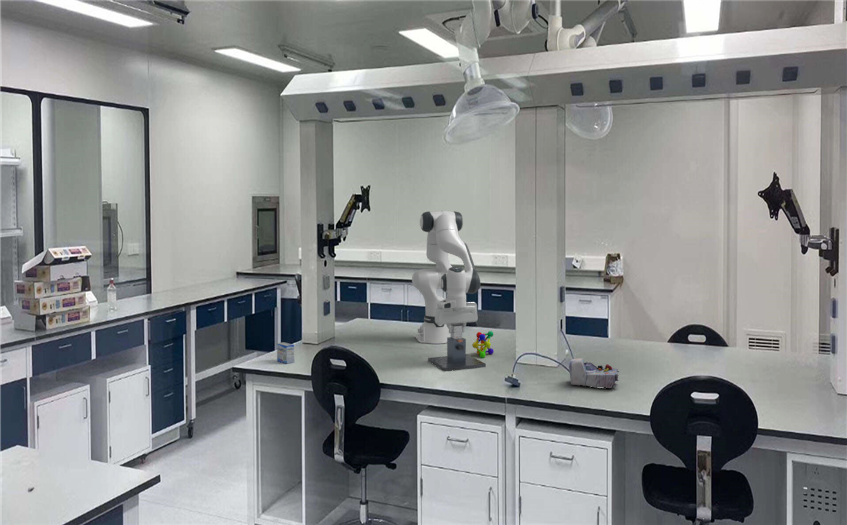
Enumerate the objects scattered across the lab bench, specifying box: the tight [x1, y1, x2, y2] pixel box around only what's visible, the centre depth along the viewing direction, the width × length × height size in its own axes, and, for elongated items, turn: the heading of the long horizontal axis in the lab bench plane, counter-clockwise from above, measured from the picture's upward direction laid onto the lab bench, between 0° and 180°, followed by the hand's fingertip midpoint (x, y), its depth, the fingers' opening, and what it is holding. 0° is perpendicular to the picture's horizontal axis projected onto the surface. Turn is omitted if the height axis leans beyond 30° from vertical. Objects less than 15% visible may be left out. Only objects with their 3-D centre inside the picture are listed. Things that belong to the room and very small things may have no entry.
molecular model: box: [472, 330, 495, 359], centre depth 320 cm, size 12×7×12 cm, turn 145°
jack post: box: [450, 323, 463, 340], centre depth 304 cm, size 4×4×17 cm
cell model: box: [568, 357, 620, 389], centre depth 269 cm, size 13×11×20 cm
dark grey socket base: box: [427, 336, 487, 372], centre depth 304 cm, size 20×20×12 cm
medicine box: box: [276, 341, 295, 365], centre depth 309 cm, size 8×4×9 cm, turn 47°
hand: (456, 332), depth 303 cm, fingers closed on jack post, 4 cm apart
